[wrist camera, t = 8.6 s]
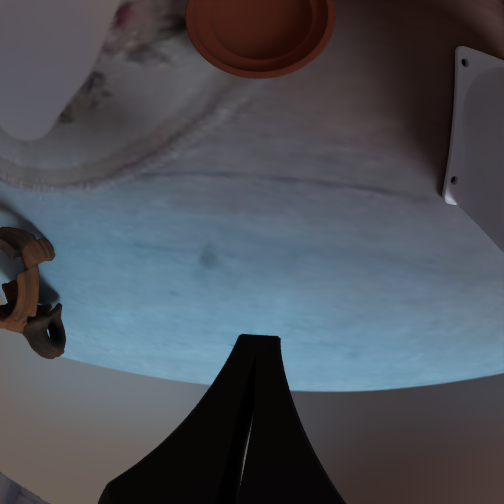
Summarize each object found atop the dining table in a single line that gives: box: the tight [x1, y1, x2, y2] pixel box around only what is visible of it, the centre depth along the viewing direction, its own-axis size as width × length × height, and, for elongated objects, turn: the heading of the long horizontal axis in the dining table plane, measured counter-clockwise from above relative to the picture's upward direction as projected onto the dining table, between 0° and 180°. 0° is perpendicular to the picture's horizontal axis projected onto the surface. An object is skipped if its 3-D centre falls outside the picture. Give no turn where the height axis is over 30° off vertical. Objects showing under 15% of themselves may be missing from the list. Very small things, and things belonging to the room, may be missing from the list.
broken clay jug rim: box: [0, 227, 66, 359], centre depth 21 cm, size 12×10×8 cm
